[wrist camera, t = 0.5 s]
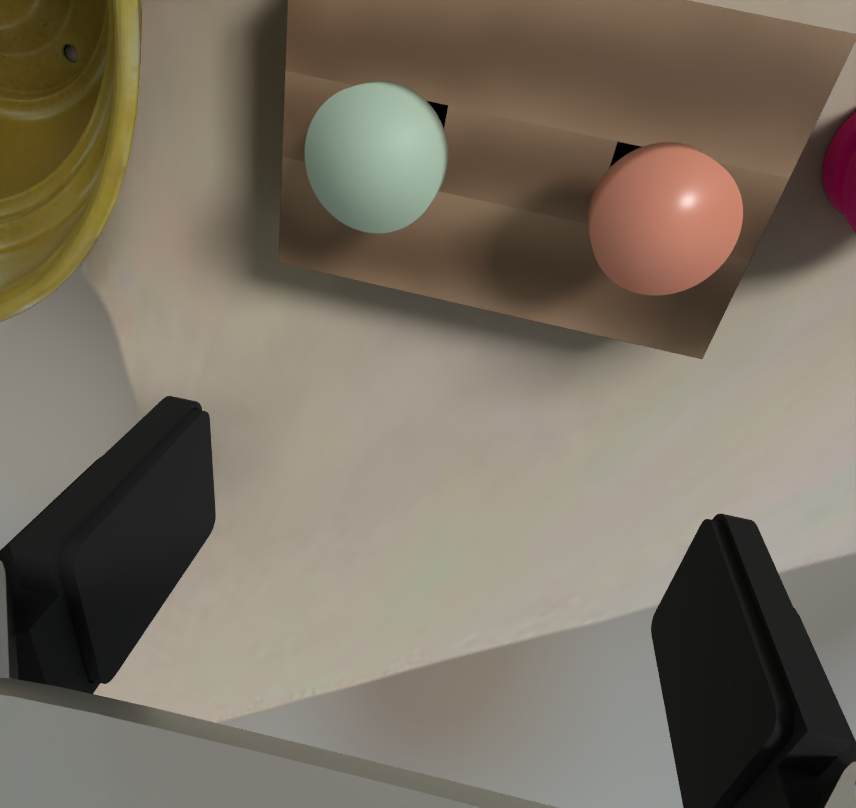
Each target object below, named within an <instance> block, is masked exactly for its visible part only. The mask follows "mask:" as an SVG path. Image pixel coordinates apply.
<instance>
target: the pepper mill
mask: <svg viewBox="0 0 856 808" xmlns="http://www.w3.org/2000/svg"><path fill="white" fill-rule="evenodd" d="M823 185H824V189H825V193H826V195H827V197H828V199H829V201H830V202H831V203H832V205H833V206H834V207H835V208H836V209H837V210H839V211H840V212H841V213H843V214H844V215H846V217H847V220H848V222H849V223H850V225H851V227H852V228H853V230H854V231H855V232H856V111H855V112H854V113H853V114H852V115H851V116H850V117H849V118H848V119H847V121H846V122H845V123H844V124H843V125H842V126H841V127H840V129H839V130H838V132H837V133H836V135H835V136H834V138H833V139H832V142H831V144H830V146H829V148H828V151H827V153H826V156H825V160H824V164H823Z"/></svg>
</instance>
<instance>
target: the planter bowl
mask: <svg viewBox="0 0 856 808" xmlns="http://www.w3.org/2000/svg"><path fill="white" fill-rule="evenodd" d="M141 28H142V8H141V0H0V322H1V321H4V320H6V319H9V318H11V317H13V316H15V315H18V314H20V313H22V312H24V311H26V310H27V309H29V308H31V307H33V306H34V305H36V304H37V303H39V302H41V301H42V300H43V299H45V298H46V297H47V296H49V295H50V294H51V293H53V292H54V291H55V290H56V289H57V288H58V287H59V286H60V285H61V284H62V283H63V282H64V281H66V280H67V278H68V277H69V276H70V275H71V274H72V273H73V272H74V271H75V270H76V269H77V267H78V266H79V265H80V264H81V263H82V262H83V260H84V259H85V257H86V256H87V254H88V253H89V252H90V250H91V249H92V247H93V246H94V244H95V243H96V241H97V239H98V237H99V236H100V234H101V232H102V230H103V228H104V226H105V225H106V223H107V221H108V219H109V216H110V214H111V212H112V209H113V207H114V205H115V202H116V199H117V197H118V194H119V191H120V188H121V185H122V181H123V178H124V174H125V171H126V167H127V162H128V158H129V154H130V149H131V145H132V139H133V133H134V127H135V120H136V113H137V101H138V89H139V70H140V62H141ZM67 44H69V45H72V46H73V47H74V48H75V49H76V51H77V55H78V58H77V60H76V62H70V61H69V60H67V58H66V57H65V56H64V47H65V45H67Z"/></svg>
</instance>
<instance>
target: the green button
mask: <svg viewBox="0 0 856 808" xmlns="http://www.w3.org/2000/svg"><path fill="white" fill-rule="evenodd" d="M305 166H306V171H307V175H308V179H309V181H310V184H311V187H312V189H313V191H314V193H315V195H316V196H317V198H318V199H319V201H320V202H321V204H322V205H323V206H324V207H325V209H326V210H327V211H328V212H329V213H330V214H331V215H332V216H334V217H335V218H336V219H338V220H339V221H340V222H342V223H344V224H345V225H347V226H349V227H351V228H353V229H356V230H359V231H363V232H368V233H389V232H393V231H397V230H400V229H402V228H404V227H406V226H408V225H410V224H411V223H413V222H414V221H415V220H417V219H418V218H419V217H420V216H421V215H422V214H423V213H424V212H425V211H426V209H427V208H428V206H429V205H430V204H431V202H432V201H433V199H434V198H435V196H436V195H437V193H438V191H439V190H440V188H441V186H442V184H443V181H444V179H445V175H446V171H447V166H448V144H447V138H446V134H445V131H444V128H443V125H442V123H441V121H440V119H439V117H438V115H437V114H436V112H435V111H434V109H433V108H432V106H431V105H430V104H429V103H428V102H427V101H426V100H425V99H424V98H423V97H422V96H420V95H419V94H418V93H417V92H415V91H413V90H412V89H410V88H408V87H406V86H404V85H402V84H398V83H395V82H390V81H372V82H366V83H363V84H359V85H356V86H353V87H350V88H347V89H344V90H342V91H340V92H338V93H336V94H334V95H333V96H332V97H330V98H329V99H328V100H327V101H326V102H325V103H324V104H323V105H322V106H321V107H320V108H319V110H318V111H317V112H316V114H315V116H314V117H313V119H312V121H311V124H310V126H309V129H308V132H307V136H306V141H305Z"/></svg>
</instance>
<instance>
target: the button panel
mask: <svg viewBox="0 0 856 808" xmlns="http://www.w3.org/2000/svg"><path fill="white" fill-rule="evenodd" d="M855 41H856V34H852V33H847V32H842V31H837V30H832V29H827V28H822V27H817V26H812V25H807V24H802V23H797V22H792V21H787V20H782V19H777V18H772V17H767V16H762V15H757V14H752V13H747V12H742V11H737V10H732V9H727V8H722V7H717V6H713V5H708V4H703V3H698V2H693V1H688V0H288V12H287V39H286V67H285V95H284V122H283V150H282V178H281V206H280V233H279V261H278V262H280V263H284V264H288V265H293V266H297V267H301V268H306V269H310V270H314V271H319V272H323V273H328V274H332V275H336V276H341V277H345V278H349V279H354V280H358V281H363V282H367V283H371V284H376V285H380V286H384V287H389V288H393V289H397V290H402V291H406V292H411V293H415V294H419V295H424V296H428V297H432V298H437V299H441V300H446V301H450V302H454V303H459V304H463V305H467V306H472V307H476V308H480V309H485V310H489V311H494V312H498V313H502V314H507V315H511V316H515V317H520V318H524V319H529V320H533V321H537V322H542V323H546V324H550V325H555V326H559V327H563V328H568V329H572V330H577V331H581V332H585V333H590V334H594V335H598V336H603V337H607V338H612V339H616V340H620V341H625V342H629V343H633V344H638V345H642V346H647V347H651V348H655V349H660V350H664V351H668V352H673V353H677V354H681V355H686V356H690V357H695V358H699V359H703V357H704V355H705V352H706V350H707V348H708V346H709V344H710V342H711V340H712V338H713V336H714V334H715V332H716V330H717V328H718V325H719V323H720V321H721V319H722V317H723V315H724V313H725V311H726V309H727V307H728V305H729V303H730V301H731V298H732V296H733V294H734V292H735V290H736V288H737V286H738V284H739V282H740V280H741V278H742V276H743V274H744V272H745V269H746V267H747V265H748V263H749V261H750V259H751V257H752V255H753V253H754V251H755V249H756V247H757V245H758V242H759V240H760V238H761V236H762V234H763V232H764V230H765V228H766V226H767V224H768V222H769V220H770V218H771V216H772V213H773V211H774V209H775V207H776V205H777V203H778V201H779V199H780V197H781V195H782V193H783V191H784V189H785V186H786V184H787V182H788V180H789V178H790V176H791V174H792V172H793V170H794V168H795V166H796V164H797V162H798V159H799V157H800V155H801V153H802V151H803V149H804V147H805V145H806V143H807V141H808V139H809V137H810V135H811V133H812V130H813V128H814V126H815V124H816V122H817V120H818V118H819V116H820V114H821V112H822V110H823V108H824V106H825V103H826V101H827V99H828V97H829V95H830V93H831V91H832V89H833V87H834V85H835V83H836V81H837V79H838V77H839V74H840V72H841V70H842V68H843V66H844V64H845V62H846V60H847V58H848V56H849V54H850V52H851V50H852V47H853V45H854V43H855ZM372 81H390V82H395V83H398V84H402V85H404V86H406V87H408V88H410V89H412V90H413V91H415V92H417V93H418V94H419V95H420V96H422V97H423V98H424V99H425V100H426V101H430V102H435V103H439V104H444V105H448V109H447V115H446V121H445V127H444V131H445V134H446V138H447V144H448V166H447V171H446V175H445V179H444V181H443V184H442V186H441V188H440V190H439V191H438V193H437V195H436V196H435V198H434V199H433V201H432V202H431V204H430V205H429V206H428V208H427V209H426V211H425V212H424V213H423V214H422V215H421V216H420V217H419V218H418V219H417V220H415V221H414V222H413V223H411V224H410V225H408V226H406V227H404V228H402V229H400V230H397V231H393V232H389V233H368V232H363V231H359V230H356V229H353V228H351V227H349V226H347V225H345V224H344V223H342V222H340V221H339V220H338V219H336V218H335V217H334V216H332V215H331V214H330V213H329V212H328V211H327V210H326V209H325V207H324V206H323V205H322V204H321V202H320V201H319V199H318V198H317V196H316V195H315V193H314V191H313V189H312V187H311V184H310V181H309V179H308V175H307V171H306V166H305V141H306V136H307V132H308V129H309V126H310V124H311V121H312V119H313V117H314V116H315V114H316V112H317V111H318V110H319V108H320V107H321V106H322V105H323V104H324V103H325V102H326V101H327V100H328V99H329V98H330V97H332V96H333V95H334V94H336V93H338V92H340V91H342V90H344V89H347V88H350V87H353V86H356V85H359V84H363V83H366V82H372ZM617 142H622V143H627V144H632V145H637V146H641V147H643V146H646V145H650V144H654V143H661V142H676V143H683V144H686V145H690V146H693V147H695V148H697V149H699V150H701V151H703V152H704V153H706V154H707V155H708V156H710V157H711V158H712V159H714V160H715V161H716V162H717V163H719V164H720V165H721V166H722V167H723V168H724V169H726V170H727V171H728V173H729V174H730V175H731V176H732V178H733V179H734V181H735V183H736V185H737V186H738V189H739V192H740V194H741V198H742V204H743V221H742V227H741V231H740V235H739V237H738V240H737V242H736V245H735V246H734V248H733V250H732V252H731V254H730V255H729V256H728V258H727V259H726V261H725V262H724V263H723V264H722V265H721V266H720V267H719V269H717V270H716V271H715V272H714V273H713V274H712V275H711V276H709V277H708V278H707V279H705V280H704V281H702V282H701V283H699V284H697V285H695V286H693V287H691V288H689V289H686V290H684V291H681V292H677V293H673V294H668V295H658V296H656V295H644V294H638V293H635V292H631V291H629V290H627V289H624V288H622V287H621V286H619V285H617V284H616V283H614V282H613V281H612V280H611V279H610V278H609V277H608V276H607V275H606V274H605V273H604V272H603V270H602V269H601V267H600V266H599V264H598V262H597V260H596V258H595V255H594V252H593V249H592V244H591V240H590V235H589V229H588V210H589V205H590V201H591V198H592V195H593V193H594V190H595V188H596V187H597V185H598V183H599V181H600V180H601V178H602V177H603V175H604V174H605V173H606V172H607V171H608V170H609V167H610V164H611V161H612V158H613V155H614V151H615V148H616V145H617Z"/></svg>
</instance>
